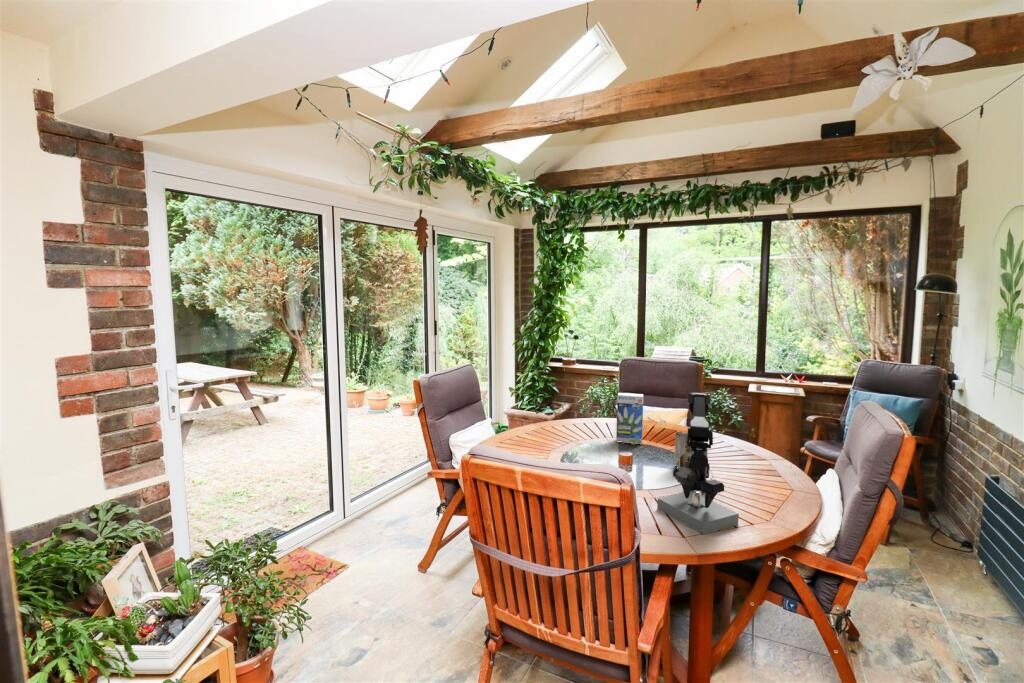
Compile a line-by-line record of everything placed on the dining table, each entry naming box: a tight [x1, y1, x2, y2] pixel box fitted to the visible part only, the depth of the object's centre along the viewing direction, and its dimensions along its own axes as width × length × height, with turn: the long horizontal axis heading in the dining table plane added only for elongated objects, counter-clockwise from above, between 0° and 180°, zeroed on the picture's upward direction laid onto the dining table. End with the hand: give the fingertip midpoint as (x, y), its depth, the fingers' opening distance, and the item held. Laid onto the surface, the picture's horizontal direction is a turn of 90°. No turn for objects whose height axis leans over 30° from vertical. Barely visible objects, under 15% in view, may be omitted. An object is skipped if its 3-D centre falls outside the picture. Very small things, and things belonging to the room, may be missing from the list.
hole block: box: [656, 491, 740, 535], centre depth 177 cm, size 22×16×4 cm
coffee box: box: [674, 431, 691, 468], centre depth 225 cm, size 9×6×16 cm
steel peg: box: [692, 490, 703, 509], centre depth 177 cm, size 3×3×9 cm
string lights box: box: [615, 392, 644, 444], centre depth 264 cm, size 13×8×26 cm, turn 73°
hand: (696, 502), depth 177 cm, fingers open, 9 cm apart
